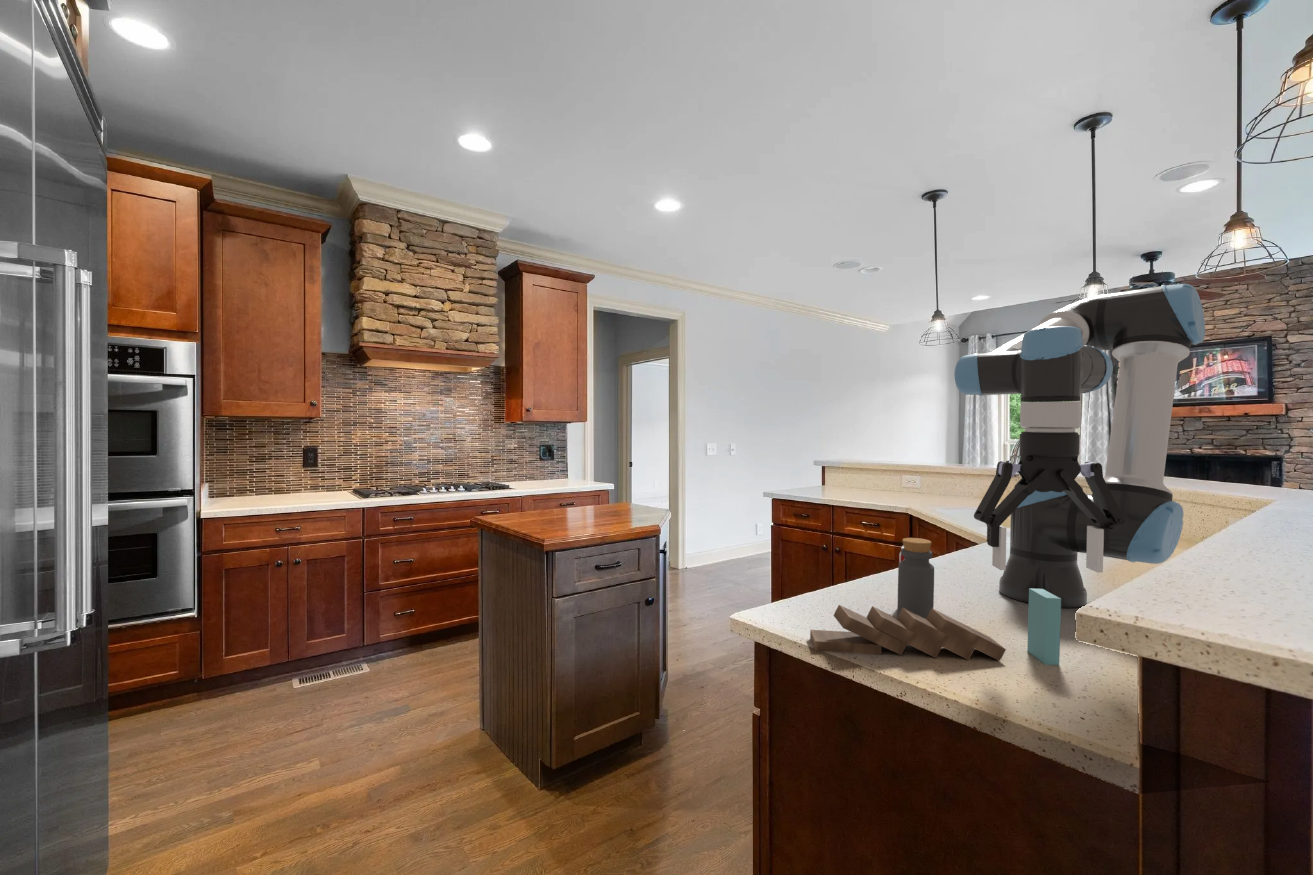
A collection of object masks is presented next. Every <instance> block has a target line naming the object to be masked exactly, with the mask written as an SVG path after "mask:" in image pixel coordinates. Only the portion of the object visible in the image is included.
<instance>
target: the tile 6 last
mask: <svg viewBox="0 0 1313 875" xmlns="http://www.w3.org/2000/svg"><path fill="white" fill-rule="evenodd" d="M809 634H810V635H809V640H810V642H811V644H812V647H813V649H814V651H815V652H825V653H826V652H829V653H843V654H844V653H846V654H861V655H862V654H867V655H882V647H883V646H881V645H878V644H876V643H874V642H872V641H870V640H868V639H866V638H863V637H861V636H859V635H857V634H855V633H853V632H850V631H843V630H842V631H841V630H826V629H825V630H824V629H820V630H819V629H810V630H809Z"/></svg>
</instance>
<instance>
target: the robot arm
mask: <svg viewBox="0 0 1313 875" xmlns="http://www.w3.org/2000/svg"><path fill="white" fill-rule="evenodd" d="M1204 315H1205V314H1204V309H1203V305H1202V302H1201V297H1200V296H1199V292H1198V290H1197V289H1196V288H1195V286H1193V285H1191V284H1188V283H1179V284H1169V285H1168V284H1167V285H1166V284H1163V285H1162V284H1161V286H1154V287H1148V288H1141V289H1134V290H1128V291H1119V292H1113V293H1104V294H1098V295H1093V296H1090V297H1086V298H1083V299H1081V300H1078V301H1075V302H1072V303H1071V304H1068V305H1065V306H1064V307H1061V308H1059V309H1057V310H1055V311H1052V312H1051V313H1049V314H1047V315H1046V316H1045V317H1043V318H1042V319H1041V320H1040V321H1039V323H1038V325H1037V326H1035V327H1034V328H1032V329H1031V328H1030V330H1027V331H1026V332H1024V333H1022V334H1020V335H1019V336H1017V337H1015V338H1013V339H1011V340H1009V341H1007V342H1006V343H1003V344H1002V345H1000V346H998V347H996V348H994V349H993V350H990V351H988V352H984V353H977V352H976V353H975V352H974V353H973V354H972V353H971V354H967V355H963V356H961V357H960V358H959V359H958V360H957V362H956V364H955V367H954V382H955V386H956V388H957V390H958V391H959V392H960V393H961V394H963V395H967V396H970V395H971V396H980V397H983V396H993V395H994V396H995V395H998V396H999V395H1020V405H1019V406H1020V409H1019V410H1020V411H1019V412H1020V413H1019V414H1020V416H1019V417H1020V418H1019V419H1020V420H1019V427H1021V428H1022V429H1024V431H1022V432H1021V433H1020V434H1019V451H1018V452H1019V462H1018V463H1011V462H1007V461H998V462H997V465H996V469H995V476H994V477H993V480H992V481H991V482H990V484H989V486H988V488H987V490H986V492H985V494H984V495H983V497H982V499H981V501H980V503H979V504H978V507H977V508H976V510H975V512H974V513H973V518H974V519H975V520H977V521H979V522H981V523H984V524H985V525H986V544H987V545H988V546H989V547H991V548H992V559H991V560H992V561H991V566H992V567H994V568H996V569H997V570H1000V571H1003V573H1002V575H1001V577H1000V579H999V585H998V587H999V589H998V590H999V592H1000V594H1002V595H1004V596H1006V597H1008V598H1010V599H1013V600H1016V601H1020V602H1025V603H1028V604H1029V588H1032V589H1044V590H1046V591H1048V592H1049V593H1051V594H1053V595H1055V596H1057V597H1059V598H1061V608H1080V607H1084V606H1086V605H1087V604H1088V592H1087V589H1086V588H1085V586H1084V582H1083V577H1082V574H1081V572H1080V571H1081V570H1080V568H1079V565H1078V553H1081V554H1085V555H1086V556H1085V557H1086V558H1085V560H1086V561H1085V568H1086V569H1088V570H1090V571H1093V572H1096V573H1104V557H1106V558H1112V559H1118V560H1124V561H1128V562H1129V563H1130V562H1131V563H1143V564H1150V565H1151V564H1152V565H1157V564H1158V565H1159V564H1162V563H1164V562H1165V561H1167V560H1168V559H1170V557H1171V556H1172V555H1173V553H1174V551H1175V550H1176V548H1177V546H1178V544H1179V542H1180V538H1181V535H1182V531H1183V526H1184V520H1183V519H1184V508H1183V506H1182V505H1181V504H1180V503H1178V502H1177V501H1175V500H1173V496H1174V495H1173V492H1172V491H1171V490H1170V489H1169V488H1168V487H1167V486H1166V485H1165V483H1164V479H1165V478H1164V477H1165V470H1166V462H1167V461H1166V460H1167V453H1168V447H1169V437H1170V429H1171V421H1172V413H1173V412H1172V411H1173V404H1174V396H1175V388H1176V381H1177V373H1178V365H1179V363H1180V362H1181V361H1184V360H1185V359H1186V358H1188V357H1189V356H1190V353H1191V345H1195V346H1197V345H1198V344H1201V343H1203V342H1204V340H1205V336H1206V323H1205V322H1206V321H1205V316H1204ZM1105 351H1112V352H1111V355H1112V357H1113V358H1114V359H1116V360H1117V361H1119V363H1120V364H1119V370H1118V378H1117V383H1116V384H1117V385H1116V392H1115V401H1114V405H1113V406H1114V407H1113V413H1112V422H1111V429H1110V436H1109V444H1108V450H1107V451H1108V452H1107V457H1106V465H1105V472H1103V464H1101V463H1100V462H1094V461H1085V462H1083V463H1079V461H1078V460H1079V455H1080V446H1081V445H1080V440H1081V438H1080V437H1081V434H1079V432H1076V429H1079V428H1080V427H1081V394H1087V393H1091V392H1094V391H1098V390H1099V389H1101V388H1102V387H1104V386H1105V385H1106V384H1107V383H1108V382H1109V381H1110V379H1111V378H1112V375H1113V371H1114V365H1113V362H1112V359H1111V357H1110V356H1109V354H1107V353H1106V352H1105ZM1016 473H1018V475H1020V477H1021V478H1020V479H1019V481H1018V482H1016V484H1015V485H1014V486H1013V489H1012V490H1011V491H1010V492H1009V493H1008V494H1007V495H1006V496H1005V497H1004V499H1002V500H1001V498H1002V497H1003V495H1004V493H1005V491H1006V490H1007V487H1008V486H1009V484H1010V482H1011V479H1012V478H1013V477H1014V476H1015V475H1016ZM1079 475H1081V476H1082V477H1083V478H1084V479H1085V481H1086V483H1087V485H1088V487H1089V489H1090V491H1091V493H1086V492H1085V491H1084V489H1083V487H1082V486H1081V485H1080V484H1079V483H1078V481H1076V478H1077V477H1078V476H1079ZM1000 500H1001V502H1000ZM999 502H1000V503H999ZM1009 517H1010V527H1009V529H1010V532H1009V534H1010V536H1009V540H1010V541H1009V557H1008V560H1007V527H1006V526H1003V523H1004V522H1005V521H1006V520H1007V519H1008V518H1009ZM1085 604H1086V605H1085ZM1083 605H1084V606H1083Z"/></svg>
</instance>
